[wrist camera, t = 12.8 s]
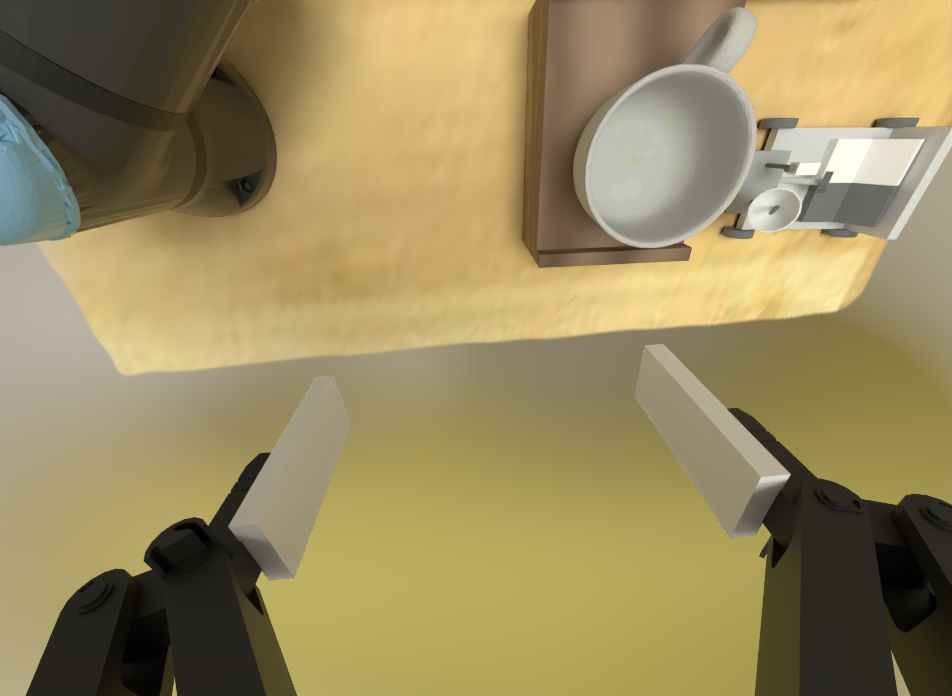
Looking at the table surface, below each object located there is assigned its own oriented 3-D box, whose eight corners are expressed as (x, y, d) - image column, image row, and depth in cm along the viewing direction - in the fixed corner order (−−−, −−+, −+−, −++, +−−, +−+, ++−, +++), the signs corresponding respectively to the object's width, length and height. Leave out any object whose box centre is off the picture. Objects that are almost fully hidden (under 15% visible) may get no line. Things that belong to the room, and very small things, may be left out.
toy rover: (752, 256, 34) (810, 113, 28) (695, 233, 43) (730, 119, 37) (931, 254, 35) (1024, 113, 29) (839, 231, 43) (897, 119, 37)
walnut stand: (522, 240, 42) (539, 267, 33) (528, 13, 32) (555, -37, 23) (639, 234, 42) (688, 260, 33) (683, 7, 32) (772, -45, 23)
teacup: (625, 248, 34) (667, 276, 27) (533, 183, 31) (554, 196, 24) (748, 95, 28) (842, 81, 21) (651, -4, 25) (724, -60, 18)
